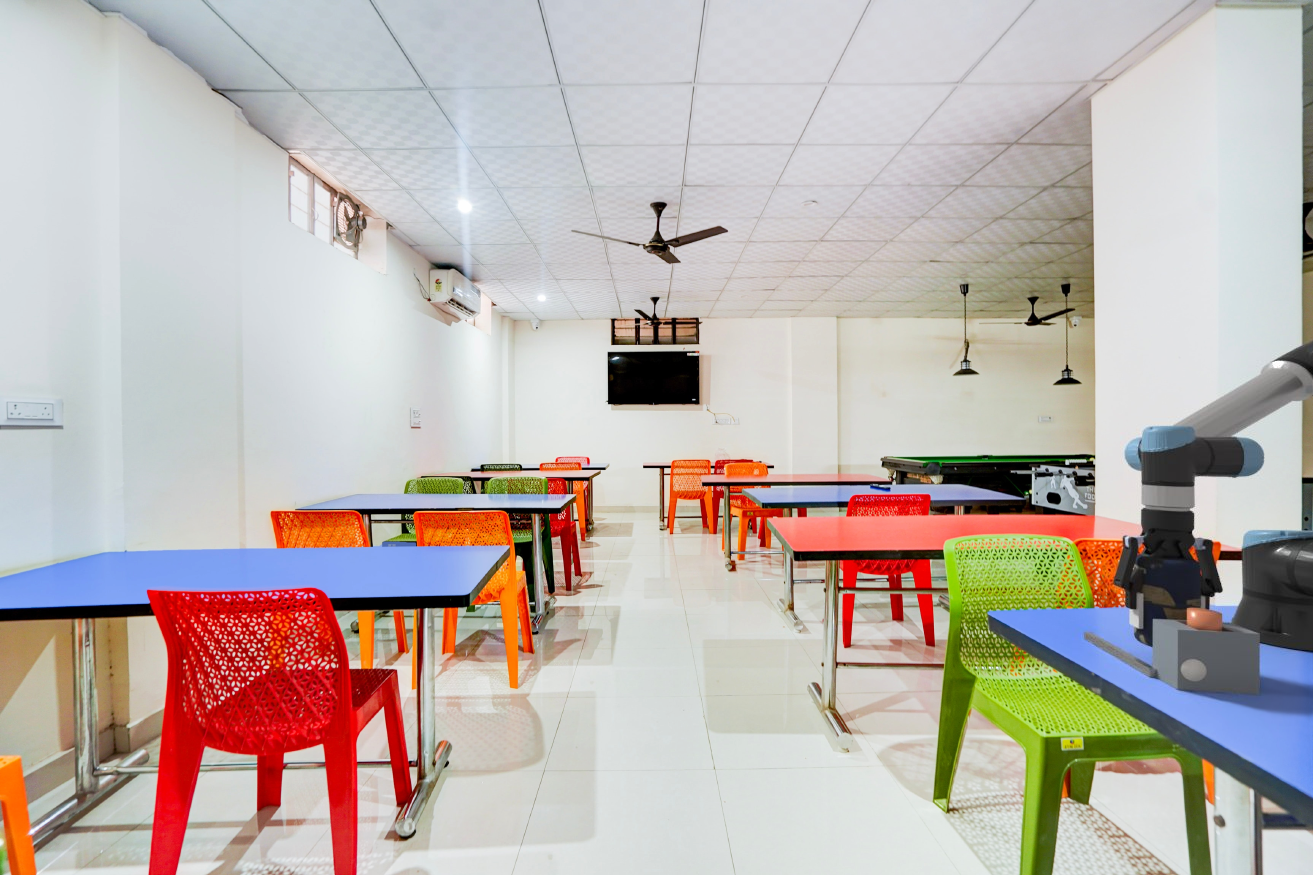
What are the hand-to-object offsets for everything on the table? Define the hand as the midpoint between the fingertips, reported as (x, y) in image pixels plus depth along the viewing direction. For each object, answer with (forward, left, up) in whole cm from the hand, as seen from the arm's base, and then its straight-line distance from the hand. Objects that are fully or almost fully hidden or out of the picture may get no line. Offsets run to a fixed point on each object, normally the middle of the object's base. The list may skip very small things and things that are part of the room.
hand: (1166, 627), depth 109 cm
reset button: (0, +10, +1) cm, 10 cm away
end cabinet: (0, +10, -7) cm, 12 cm away
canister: (0, 0, -4) cm, 4 cm away
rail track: (0, -2, -7) cm, 7 cm away
